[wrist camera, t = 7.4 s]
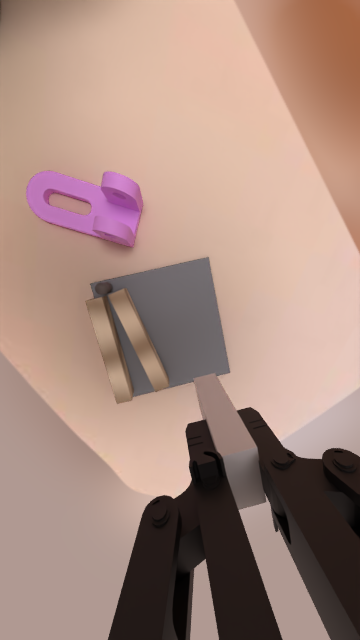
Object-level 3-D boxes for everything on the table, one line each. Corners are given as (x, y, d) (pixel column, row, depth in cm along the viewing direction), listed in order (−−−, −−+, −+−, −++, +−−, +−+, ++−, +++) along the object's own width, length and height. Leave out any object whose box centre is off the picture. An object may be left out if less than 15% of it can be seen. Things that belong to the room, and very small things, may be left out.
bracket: (143, 204, 28) (137, 179, 21) (133, 247, 29) (124, 237, 22) (37, 169, 26) (-6, 131, 20) (29, 217, 27) (-14, 196, 20)
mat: (91, 283, 29) (90, 283, 29) (207, 257, 30) (208, 257, 29) (125, 397, 32) (124, 398, 32) (229, 371, 33) (230, 372, 33)
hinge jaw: (112, 294, 29) (107, 295, 27) (126, 287, 29) (123, 288, 27) (156, 383, 32) (155, 392, 29) (168, 377, 32) (169, 386, 29)
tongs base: (88, 286, 29) (79, 287, 26) (111, 281, 29) (105, 281, 26) (120, 393, 32) (116, 405, 29) (141, 388, 32) (138, 400, 29)
